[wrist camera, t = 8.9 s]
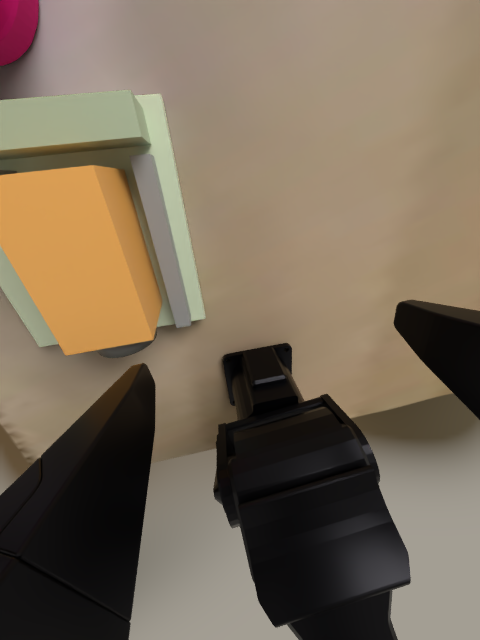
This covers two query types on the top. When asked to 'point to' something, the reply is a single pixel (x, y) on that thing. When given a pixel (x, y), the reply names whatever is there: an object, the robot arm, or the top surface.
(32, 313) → the pale green tray
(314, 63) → the top surface
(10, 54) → the pepper mill
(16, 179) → the orange tapered block
